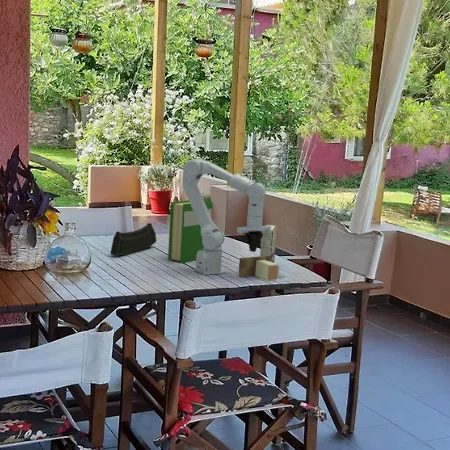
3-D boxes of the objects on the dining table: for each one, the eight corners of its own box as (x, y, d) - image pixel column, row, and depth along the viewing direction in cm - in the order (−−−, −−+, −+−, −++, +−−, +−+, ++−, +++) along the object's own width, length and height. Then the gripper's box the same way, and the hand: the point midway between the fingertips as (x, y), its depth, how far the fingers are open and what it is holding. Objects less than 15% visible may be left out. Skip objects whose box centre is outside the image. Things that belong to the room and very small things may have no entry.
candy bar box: (262, 263, 284) (265, 224, 282) (274, 264, 283) (277, 225, 281) (258, 268, 274) (261, 228, 271) (270, 270, 273) (273, 229, 270)
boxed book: (268, 280, 255) (269, 265, 254) (255, 275, 261) (256, 260, 260) (276, 279, 257) (277, 264, 256) (263, 275, 264) (264, 259, 263)
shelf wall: (240, 276, 258) (241, 258, 257) (238, 276, 259) (239, 258, 258) (269, 273, 266) (270, 256, 265) (267, 273, 267) (268, 255, 266)
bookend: (276, 278, 259) (277, 266, 259) (265, 274, 265) (265, 262, 264) (284, 277, 262) (285, 265, 261) (273, 273, 267) (273, 262, 266)
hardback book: (181, 263, 275) (184, 204, 271) (167, 260, 279) (170, 202, 275) (208, 257, 289) (212, 201, 285) (195, 254, 293) (198, 199, 289)
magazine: (113, 237, 273) (153, 209, 297) (107, 236, 275) (146, 208, 299) (119, 275, 280) (157, 244, 304) (113, 273, 282) (151, 243, 306)
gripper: (245, 217, 248) (243, 254, 250) (276, 216, 256) (274, 252, 258) (234, 214, 254) (232, 250, 256) (265, 213, 262) (262, 248, 264)
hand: (252, 251), depth 258 cm, fingers closed
